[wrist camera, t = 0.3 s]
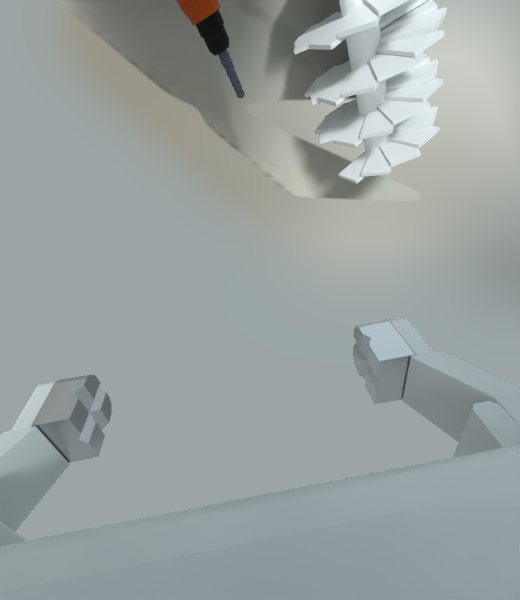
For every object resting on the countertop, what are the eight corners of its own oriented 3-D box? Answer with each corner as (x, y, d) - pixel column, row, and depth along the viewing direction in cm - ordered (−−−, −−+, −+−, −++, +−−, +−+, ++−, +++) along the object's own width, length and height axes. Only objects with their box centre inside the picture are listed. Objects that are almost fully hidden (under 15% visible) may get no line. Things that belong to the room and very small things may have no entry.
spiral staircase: (352, -96, 39) (378, 105, 58) (243, -13, 38) (305, 165, 56) (505, -163, 27) (476, 120, 45) (350, -43, 26) (385, 198, 44)
